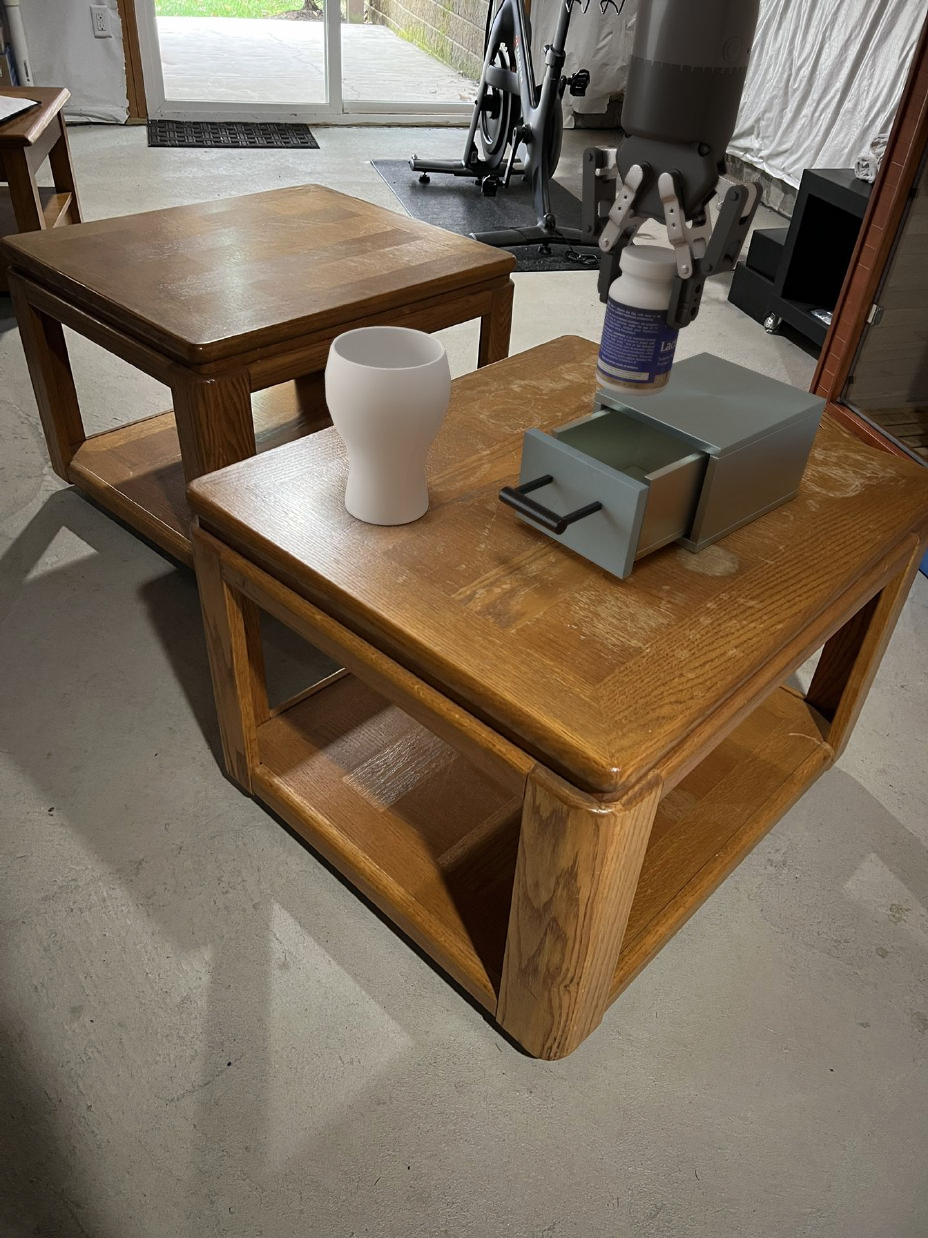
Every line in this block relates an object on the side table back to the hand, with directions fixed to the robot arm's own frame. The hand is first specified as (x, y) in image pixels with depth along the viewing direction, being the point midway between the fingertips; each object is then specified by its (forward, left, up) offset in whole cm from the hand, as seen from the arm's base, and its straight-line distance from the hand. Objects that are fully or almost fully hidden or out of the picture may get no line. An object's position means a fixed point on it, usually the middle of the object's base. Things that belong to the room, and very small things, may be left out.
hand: (643, 313), depth 70 cm
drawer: (+1, -1, -20) cm, 20 cm away
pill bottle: (0, 0, -6) cm, 6 cm away
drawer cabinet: (+1, -14, -21) cm, 26 cm away
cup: (+17, +11, -21) cm, 29 cm away
